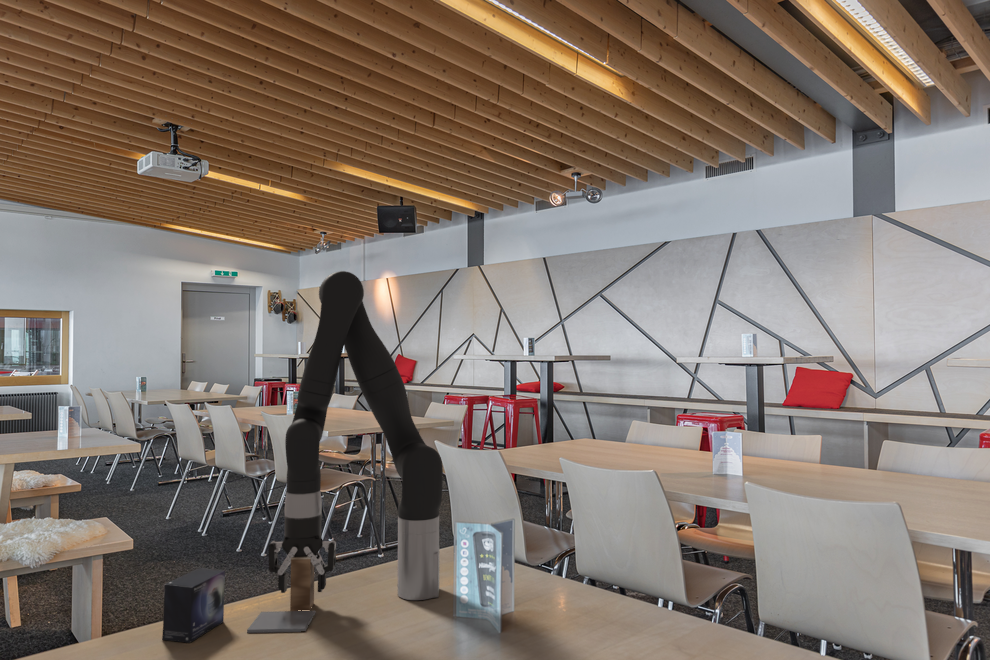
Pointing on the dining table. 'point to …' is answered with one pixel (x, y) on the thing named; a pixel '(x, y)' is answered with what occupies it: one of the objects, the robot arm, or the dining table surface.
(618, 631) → the dining table surface
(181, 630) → the small box
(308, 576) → the walnut block
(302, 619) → the slate pad
